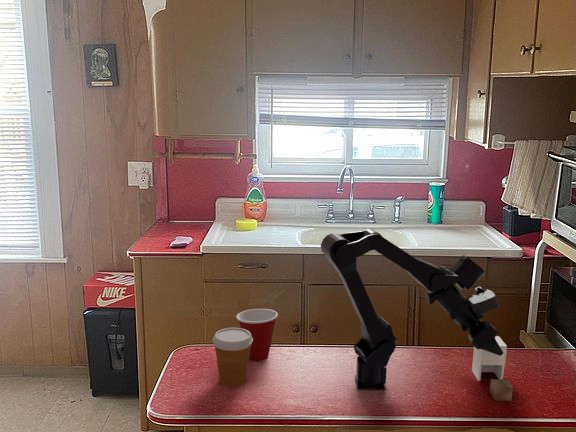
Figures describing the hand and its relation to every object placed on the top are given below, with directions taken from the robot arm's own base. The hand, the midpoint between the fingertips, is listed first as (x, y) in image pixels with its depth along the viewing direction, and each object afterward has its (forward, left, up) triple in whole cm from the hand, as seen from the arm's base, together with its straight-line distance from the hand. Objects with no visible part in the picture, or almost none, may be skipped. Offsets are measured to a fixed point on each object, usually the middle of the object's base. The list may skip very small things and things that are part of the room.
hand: (495, 346), depth 153 cm
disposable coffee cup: (-64, -5, -8) cm, 65 cm away
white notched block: (-1, 0, -8) cm, 8 cm away
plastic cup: (-59, +9, -8) cm, 61 cm away
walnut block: (-1, -10, -8) cm, 13 cm away
